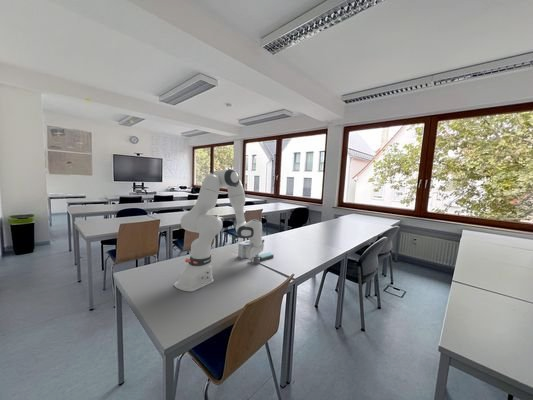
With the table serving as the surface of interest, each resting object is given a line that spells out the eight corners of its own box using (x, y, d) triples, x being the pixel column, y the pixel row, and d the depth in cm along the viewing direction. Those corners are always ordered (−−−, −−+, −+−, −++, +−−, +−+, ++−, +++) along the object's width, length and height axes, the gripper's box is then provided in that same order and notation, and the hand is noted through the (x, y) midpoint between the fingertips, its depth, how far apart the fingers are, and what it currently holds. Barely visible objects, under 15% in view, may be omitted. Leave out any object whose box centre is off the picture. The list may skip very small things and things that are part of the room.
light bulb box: (248, 253, 178) (249, 240, 177) (253, 256, 173) (254, 242, 172) (237, 256, 171) (238, 242, 170) (242, 258, 166) (242, 245, 165)
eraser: (261, 261, 164) (261, 257, 163) (257, 259, 168) (257, 255, 167) (273, 258, 172) (273, 254, 171) (269, 256, 175) (269, 252, 175)
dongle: (260, 263, 160) (260, 257, 159) (258, 264, 157) (258, 259, 156) (250, 260, 164) (250, 255, 163) (247, 262, 160) (247, 256, 160)
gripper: (252, 246, 148) (251, 266, 149) (265, 239, 166) (264, 257, 168) (244, 245, 150) (243, 264, 152) (258, 237, 169) (257, 255, 170)
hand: (254, 260), depth 160 cm, fingers closed on dongle, 3 cm apart
